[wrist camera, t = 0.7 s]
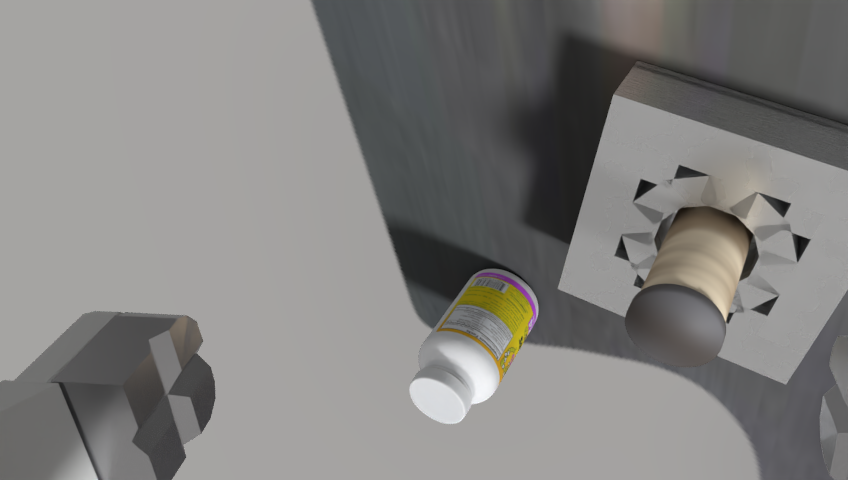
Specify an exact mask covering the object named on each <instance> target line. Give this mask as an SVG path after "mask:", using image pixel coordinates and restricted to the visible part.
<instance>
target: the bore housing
mask: <svg viewBox="0 0 848 480" xmlns="http://www.w3.org/2000/svg"><path fill="white" fill-rule="evenodd" d="M699 206H710V207H713V208H716V209H719V210H721V211H724V212H727V213H730V214H732V215H735V216H736V217H737V218H738V219H739V220H740V221H741V222H742V223H743V224H744V225H745V226H746V227H747V228H748V229H749V230H750V231H751V232H752V233H753V234H754V235H753V238H752V241H751V244H750V247H749V251H748V254H747V257H746V260H745V263H744V266H743V269H742V273H741V276H740V279H739V282H738V285H737V288H736V291H735V294H734V298H733V301H732V304H731V307H730V310H729V313H728V316H727V320H726V336H725V339H724V342H723V346H722V348H721V351H720V352H719V354H718V355H717V356H719V357H721V358H724V359H726V360H728V361H731V362H733V363H736V364H738V365H740V366H743V367H745V368H748V369H750V370H752V371H755V372H757V373H759V374H762V375H764V376H767V377H769V378H771V379H774V380H776V381H779V382H781V383H783V384H787V382H788V381H789V379H790V377H791V376H792V374H793V373H794V371H795V370H796V368H797V367H798V365H799V364H800V362H801V361H802V359H803V357H804V356H805V354H806V353H807V351H808V350H809V348H810V347H811V345H812V344H813V342H814V340H815V339H816V337H817V336H818V334H819V333H820V331H821V330H822V328H823V327H824V325H825V323H826V322H827V320H828V319H829V317H830V316H831V314H832V313H833V311H834V310H835V308H836V307H837V305H838V303H839V302H840V300H841V299H842V297H843V296H844V294H845V293H846V291H847V290H848V125H845V124H842V123H839V122H835V121H832V120H829V119H826V118H822V117H819V116H816V115H813V114H809V113H806V112H803V111H800V110H797V109H793V108H790V107H787V106H784V105H780V104H777V103H774V102H771V101H767V100H764V99H761V98H758V97H754V96H751V95H748V94H745V93H741V92H738V91H735V90H732V89H729V88H725V87H722V86H719V85H716V84H712V83H709V82H706V81H703V80H699V79H696V78H693V77H690V76H686V75H683V74H680V73H677V72H673V71H670V70H667V69H664V68H660V67H657V66H654V65H651V64H648V63H644V62H641V61H637V62H636V63H635V65H634V66H633V68H632V69H631V70H630V72H629V73H628V75H627V76H626V77H625V79H624V80H623V82H622V83H621V84H620V86H619V87H618V89H617V90H616V91H615V93H614V94H613V97H612V101H611V104H610V108H609V111H608V115H607V118H606V122H605V125H604V129H603V132H602V136H601V139H600V143H599V146H598V150H597V153H596V157H595V160H594V164H593V167H592V171H591V174H590V178H589V181H588V185H587V188H586V192H585V195H584V199H583V202H582V206H581V209H580V213H579V216H578V220H577V223H576V227H575V230H574V234H573V237H572V241H571V244H570V248H569V251H568V255H567V258H566V262H565V265H564V269H563V272H562V276H561V279H560V283H559V286H558V289H559V290H562V291H564V292H566V293H569V294H571V295H574V296H576V297H578V298H581V299H583V300H586V301H588V302H590V303H593V304H595V305H597V306H600V307H602V308H605V309H607V310H609V311H612V312H614V313H617V314H619V315H621V316H624V317H625V316H626V312H627V310H628V308H629V306H630V304H631V302H632V300H633V298H634V297H635V295H636V294H637V293H638V292H640V291H641V289H642V287H643V284H644V282H645V280H646V278H647V276H648V274H649V271H650V269H651V267H652V265H653V263H654V261H655V258H656V256H657V254H658V252H659V250H660V248H661V246H662V243H663V241H664V239H665V237H666V235H667V233H668V230H669V228H670V226H671V224H672V222H673V220H674V217H675V215H676V213H677V211H678V209H680V208H686V207H699Z"/></svg>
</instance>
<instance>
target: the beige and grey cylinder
mask: <svg viewBox="0 0 848 480" xmlns="http://www.w3.org/2000/svg"><path fill="white" fill-rule="evenodd" d="M753 235H754V234H753V233H752V232H751V231H750V230H749V229H748V228H747V227H746V226H745V225H744V224H743V223H742V222H741V221H740V220H739V219H738V218H737V217H736V216H735V215H732V214H730V213H727V212H724V211H721V210H719V209H716V208H713V207H710V206H699V207H686V208H680V209H678V211H677V213H676V215H675V217H674V220H673V222H672V224H671V226H670V228H669V230H668V233H667V235H666V237H665V239H664V241H663V243H662V246H661V248H660V250H659V252H658V254H657V256H656V258H655V261H654V263H653V265H652V267H651V269H650V271H649V274H648V276H647V278H646V280H645V282H644V284H643V287H642V289H641V291H640V292H638V293H637V294H636V295H635V297H634V298H633V300H632V302H631V304H630V306H629V308H628V310H627V312H626V316H625V326H626V330H627V332H628V335H629V337H630V338H631V340H632V341H633V343H634V344H635V345H636V346H637V347H638V348H639V349H640V350H641V351H642V352H643V353H645V354H646V355H648V356H649V357H651V358H653V359H654V360H657V361H659V362H661V363H664V364H667V365H671V366H676V367H696V366H701V365H704V364H706V363H708V362H710V361H712V360H713V359H714V358H715V357H716V356H717V355H718V354H719V352H720V351H721V348H722V346H723V342H724V339H725V336H726V320H727V316H728V313H729V310H730V307H731V304H732V301H733V298H734V294H735V291H736V288H737V285H738V282H739V279H740V276H741V273H742V269H743V266H744V263H745V260H746V257H747V254H748V251H749V247H750V244H751V241H752V238H753Z"/></svg>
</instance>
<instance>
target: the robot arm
mask: <svg viewBox="0 0 848 480" xmlns="http://www.w3.org/2000/svg"><path fill="white" fill-rule="evenodd" d="M202 342H203V339H202V337H201V333H200V331H199V327H198V324H197V322H196V321H195V320H193V319H192V318H190V317H189V316H186V315H185V316H184V315H167V314H148V313H128V312H125V313H121V312H100V311H97V312H96V311H94V312H90V313H86V314H83V315H82V316H81V317H80V318H79V319H78V320H77V321H76V322H75V323H74V324H72V326H70V327H69V329H67V330H66V331H65V332H64V333H63V334H62V335H61V336H60V337H59V338H58V339H57V340H56V341H55V342H54V343H53V344H52V345H51V346H50V347H48V348H47V349H46V350H45V351H44V352H43V353H42V354H41V355H40V356H39V357H38V358H37V359H36V360H35V361H34V362H33V363H32V364H31V365H30V366H29V367H28V368H27V369H26V370H25V371H24V372H23V373H21V374H20V375H19V376H18V377H17V378H16V379H15V380H14V381H7V380H4V381H1V382H0V480H172V478H173V477H174V475H175V473H176V472H177V471H178V469H179V468H180V466H181V464H182V463H183V461H184V460H185V458H186V454H185V450H184V446H183V445H184V444H185V443H187V442H188V441H190V440H191V439H193V438H195V437H196V436H198V435H199V434H201V433H202V431H203V430H204V428H205V426H206V425H207V423H208V421H209V420H210V418H211V414H212V409H213V406H214V401H215V381H214V378H213V374H212V370H211V367H210V366H209V365H208V364H207V363H206V362H205V361H204V360H203V359H202V358H201V357H200V356H199V355H198V354H197V352H198V350H199V348H200V346H201V344H202ZM829 365H830V368H831V370H832V373H833V375H834V377H835V380H836V382H837V384H836V385H835V386H834V387H832V388H831V389H830V390H829V391H828V392H827V393H825V394H824V395H823V401H822V407H821V414H820V441H821V446H822V451H823V456H824V460H825V463H826V466H827V469H828V472H829V475H830V476H831V477H832V478H834V479H835V480H848V336H838V338H837V340H836V342H835V344H834V346H833V349H832V354H831V359H830V363H829Z"/></svg>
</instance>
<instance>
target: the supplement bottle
mask: <svg viewBox="0 0 848 480" xmlns="http://www.w3.org/2000/svg"><path fill="white" fill-rule="evenodd" d="M538 310H539V308H538V302H537V299H536V296H535V294H534V293H533V291H532V289H531V288H530V287H529V286H528V285H527V284H526V283H525V282H524V281H523V280H522V279H520V278H519V277H517V276H516V275H514V274H512V273H510V272H508V271H505V270H501V269H485V270H481V271H479V272H477V273H476V274H474V275H473V276H472V277H471V278H470V279H469V281H468V282H467V283H466V285H465V286H464V288H463V289H462V290H461V292H460V293H459V295H458V296H457V297H456V299H455V300H454V302H453V303H452V304H451V306H450V307H449V308H448V310H447V311H446V313H445V314H444V315H443V317H442V318H441V320H440V321H439V322H438V324H437V325H436V326H435V328H434V329H433V330H432V332H431V333H430V335H429V336H428V337H427V339H426V340H425V341H424V343H423V344H422V346H421V348H420V351H419V366H420V371H419V372H418V373H417V374H416V376H415V377H414V379H413V380H412V382H411V384H410V387H409V392H410V396H411V399H412V400H413V402H414V404H415V405H416V406H417V407H418V408H419V409H420V410H421V411H422V412H423V413H424V414H426V415H427V416H428V417H430V418H432V419H434V420H436V421H438V422H441V423H446V424H455V423H458V422H460V421H461V420H462V419H463V418H464V416H465V415H466V413H467V412H468V410H469V409H470V407H471V404H476V403H480V402H483V401H485V400H486V399H488V398H489V397H490V396H492V394H493V393H494V392H495V390H496V389H497V387H498V385H499V384H500V382H501V380H502V378H503V377H504V375H505V373H506V371H507V370H508V368H509V366H510V365H511V363H512V361H513V360H514V358H515V356H516V354H517V353H518V351H519V349H520V348H521V346H522V345H523V343H524V341H525V339H526V337H527V336H528V334H529V332H530V331H531V329H532V327H533V325H534V323H535V322H536V319H537V317H538Z"/></svg>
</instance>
